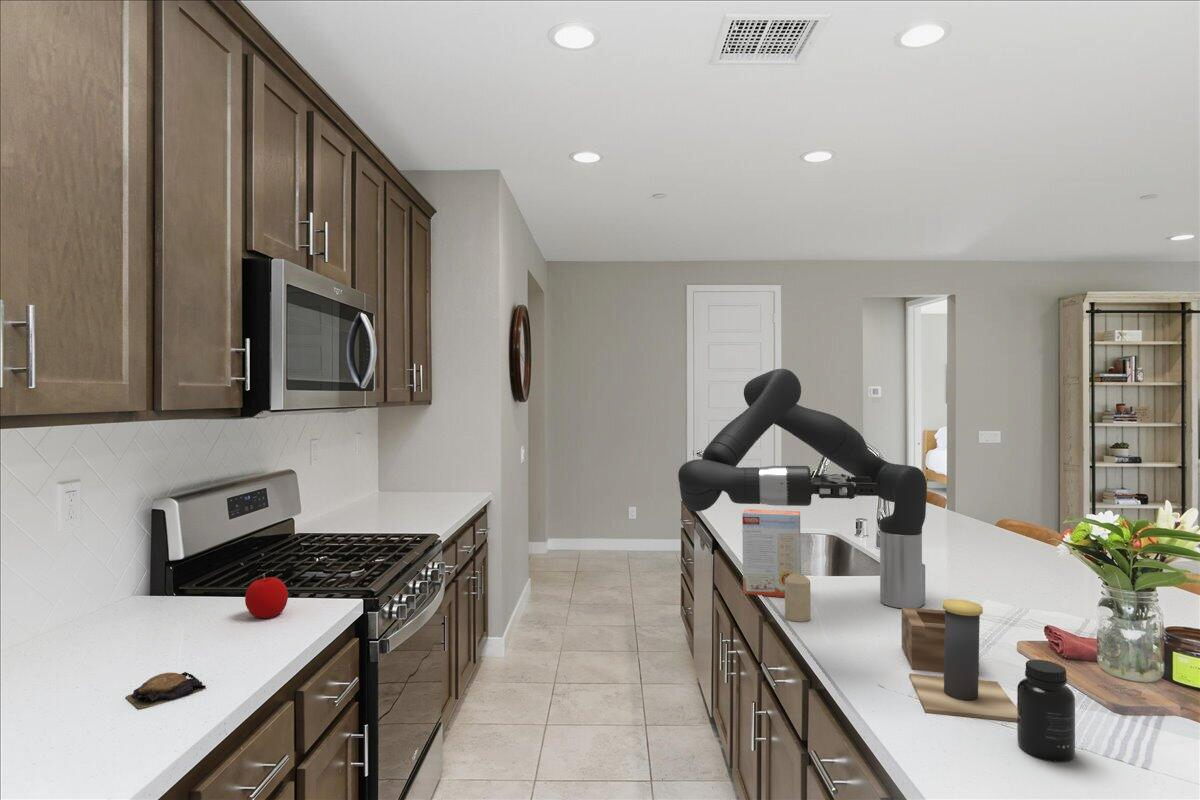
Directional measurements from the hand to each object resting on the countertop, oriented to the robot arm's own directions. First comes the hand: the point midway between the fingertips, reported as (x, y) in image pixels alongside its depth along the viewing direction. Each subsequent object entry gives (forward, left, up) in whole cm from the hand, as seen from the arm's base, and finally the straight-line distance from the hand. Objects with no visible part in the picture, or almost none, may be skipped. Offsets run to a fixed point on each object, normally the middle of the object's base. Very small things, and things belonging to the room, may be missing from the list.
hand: (875, 486), depth 125 cm
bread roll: (+121, -33, -34) cm, 130 cm away
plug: (-3, +16, -33) cm, 36 cm away
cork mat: (-4, +16, -33) cm, 37 cm away
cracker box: (-9, -46, -33) cm, 57 cm away
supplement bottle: (-1, +32, -33) cm, 47 cm away
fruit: (+109, -73, -34) cm, 136 cm away
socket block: (-13, +2, -33) cm, 36 cm away
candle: (-3, -28, -33) cm, 43 cm away
